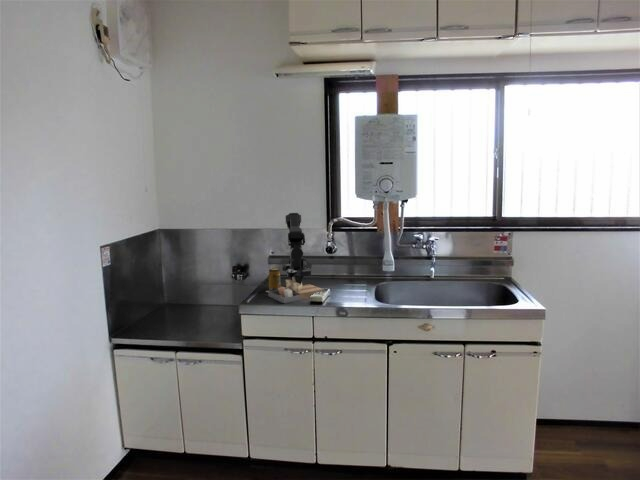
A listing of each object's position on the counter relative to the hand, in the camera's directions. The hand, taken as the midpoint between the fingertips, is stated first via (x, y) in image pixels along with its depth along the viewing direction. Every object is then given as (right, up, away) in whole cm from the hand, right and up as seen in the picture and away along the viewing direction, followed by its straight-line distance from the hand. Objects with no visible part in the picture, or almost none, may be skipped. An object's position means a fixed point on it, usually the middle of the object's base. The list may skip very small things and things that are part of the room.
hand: (297, 286), depth 226 cm
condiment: (-12, -4, +10) cm, 16 cm away
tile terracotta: (-6, -2, 0) cm, 6 cm away
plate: (+4, -4, +3) cm, 7 cm away
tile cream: (-3, -3, -5) cm, 6 cm away
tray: (-6, -5, -3) cm, 9 cm away
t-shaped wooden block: (0, -1, 0) cm, 1 cm away
